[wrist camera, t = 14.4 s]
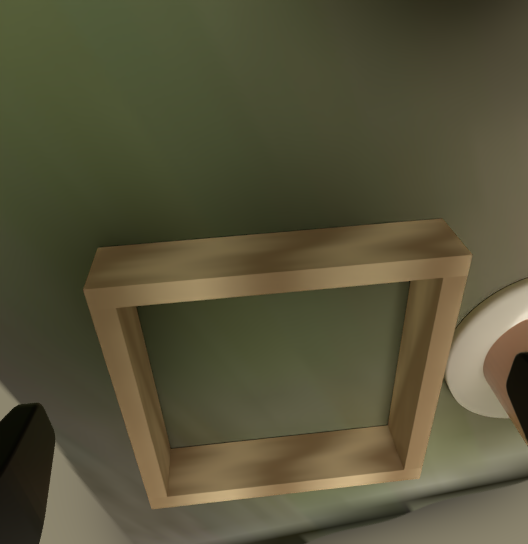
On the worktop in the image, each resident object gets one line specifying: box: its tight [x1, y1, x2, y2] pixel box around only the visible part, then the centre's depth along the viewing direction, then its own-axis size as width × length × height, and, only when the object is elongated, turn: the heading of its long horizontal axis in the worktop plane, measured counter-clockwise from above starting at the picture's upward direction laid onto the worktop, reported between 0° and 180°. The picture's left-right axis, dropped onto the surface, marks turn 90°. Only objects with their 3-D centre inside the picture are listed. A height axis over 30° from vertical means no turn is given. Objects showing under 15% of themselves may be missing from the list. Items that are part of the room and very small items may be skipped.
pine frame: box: [83, 218, 472, 509], centre depth 24 cm, size 15×15×3 cm
